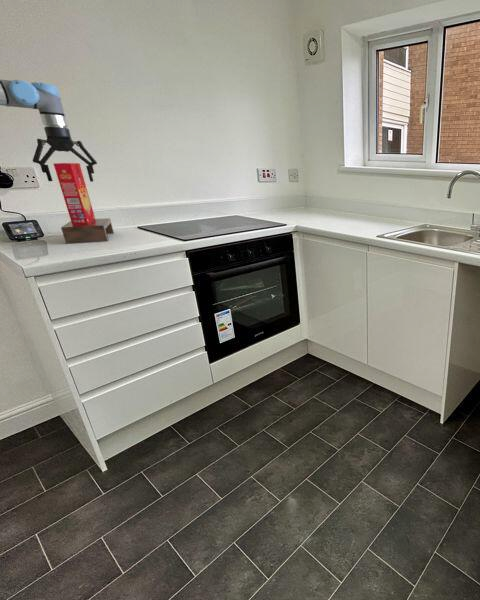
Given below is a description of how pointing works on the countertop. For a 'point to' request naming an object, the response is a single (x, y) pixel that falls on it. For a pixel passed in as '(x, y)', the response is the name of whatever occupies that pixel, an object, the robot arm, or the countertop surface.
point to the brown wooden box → (87, 231)
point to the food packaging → (75, 193)
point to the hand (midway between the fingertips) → (71, 181)
